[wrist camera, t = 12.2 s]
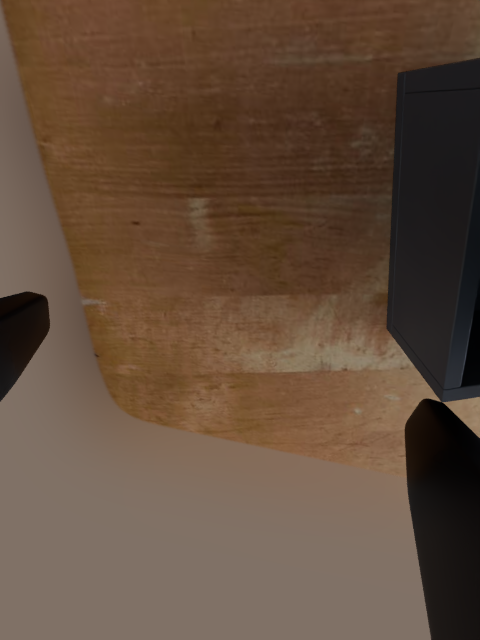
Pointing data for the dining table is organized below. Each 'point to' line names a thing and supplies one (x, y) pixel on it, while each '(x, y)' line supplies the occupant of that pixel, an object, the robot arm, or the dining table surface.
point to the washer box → (437, 227)
